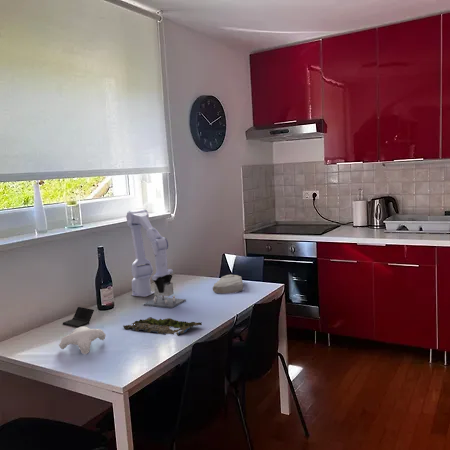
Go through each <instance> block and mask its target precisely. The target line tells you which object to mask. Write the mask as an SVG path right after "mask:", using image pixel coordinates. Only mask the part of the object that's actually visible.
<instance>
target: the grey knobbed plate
mask: <svg viewBox="0 0 450 450" xmlns="http://www.w3.org/2000/svg"><path fill="white" fill-rule="evenodd" d="M157 296H158V295H155V296H154V297H153V299H151V300H149V301H147V302H144V303H143V306H145V307H147V306H148V307H154V308H155V307H156V308H164V309H173V308H175V307H177V306H179V305H181V304H182V303H185V302H187V301H186V300H187V299H185V298H176V295H172V297H167V296H162V295H161V296H158V297H157ZM184 301H185V302H184Z"/></svg>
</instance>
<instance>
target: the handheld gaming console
mask: <svg viewBox="0 0 450 450" xmlns="http://www.w3.org/2000/svg"><path fill="white" fill-rule="evenodd" d="M75 310H76V311H75V312H74V315H73V317H72V319H68V320H65V321H63V322H62V325H64V326H68V327H72V328H79V327H85V326H87V325H89V324H90V322H91V319H92V316H93V314H94V312H95V309H91V308H86V307H82V306H78V307H77V309H75Z"/></svg>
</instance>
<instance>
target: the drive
mask: <svg viewBox="0 0 450 450" xmlns="http://www.w3.org/2000/svg"><path fill="white" fill-rule="evenodd" d="M153 286H154V288H153V289H154V292H155V293H154V295H155V296H161V297H162V296H164V297H169V296H173V295H174V283H173V282H171V281H170V282H164V291H163V293H159V291H158V288H157V286H156V284H155V283H153Z"/></svg>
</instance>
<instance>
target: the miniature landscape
mask: <svg viewBox="0 0 450 450" xmlns="http://www.w3.org/2000/svg"><path fill="white" fill-rule="evenodd" d="M202 323H203V322H201V321H200V322H196V321H191V322H188V321H184V320H182V321H179V320H176V319H173V318H171V317H169V318H165V319H164V318H163V319H162V318H159V319H156V318H153V317H150V316H149V317H147V318H145V319H138V320H134V322H132V323H131V324H126V325H122V327H123V328H124V329H125V330H128V329H131V331H134V332H135V331H136V332H139V331H143V333H146V332H147V333H151V332H153V333H156V334H158V335H160V334H161V335H172V336H174V335H177V336H179V335H182V334H185V333H186V332H187V331H188V330H190V329H191V328H192V327H195V326H196V327H198V326H202ZM132 324H133V325H132ZM134 324H135V325H134ZM172 328H173V329H172Z"/></svg>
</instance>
